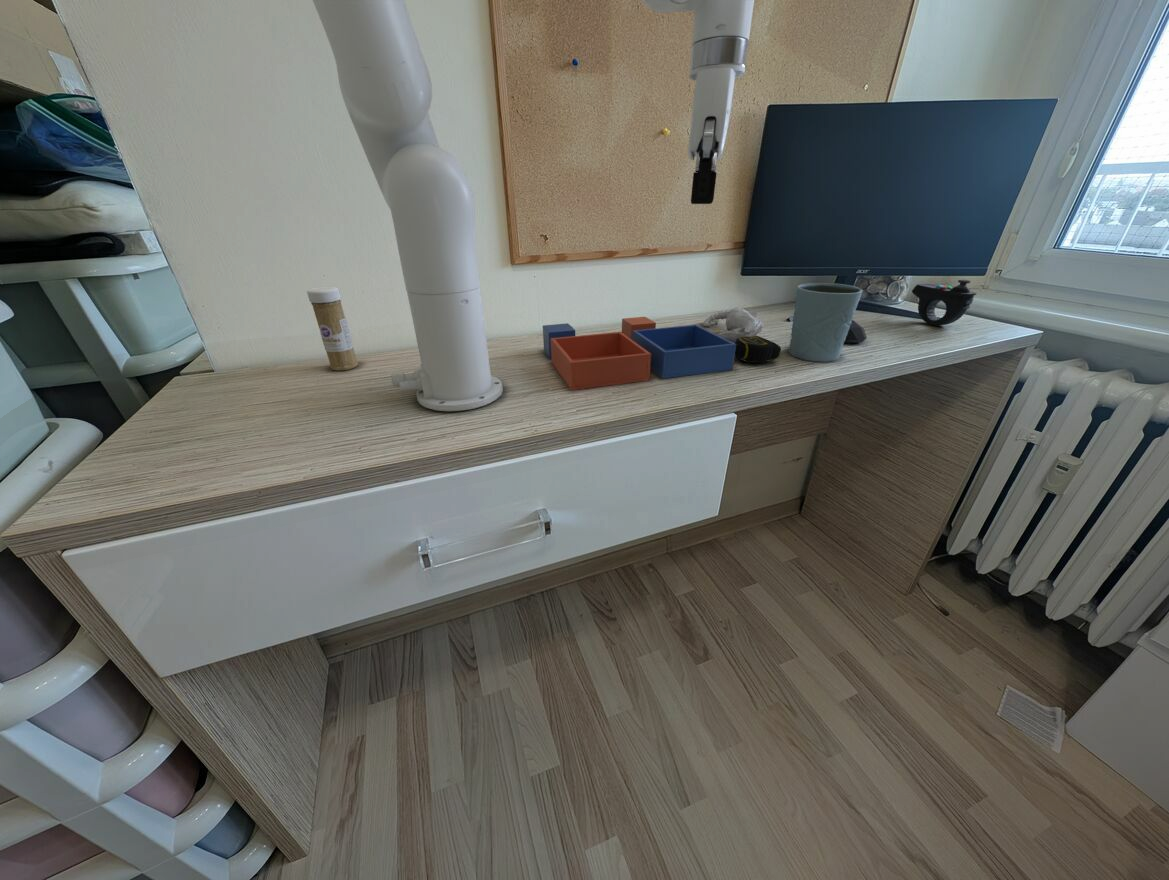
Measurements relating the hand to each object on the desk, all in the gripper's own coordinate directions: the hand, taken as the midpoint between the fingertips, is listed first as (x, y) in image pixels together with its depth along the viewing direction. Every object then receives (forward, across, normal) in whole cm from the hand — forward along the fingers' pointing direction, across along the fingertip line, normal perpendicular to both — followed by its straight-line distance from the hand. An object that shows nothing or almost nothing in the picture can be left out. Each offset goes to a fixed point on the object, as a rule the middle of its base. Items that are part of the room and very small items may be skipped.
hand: (702, 203), depth 69 cm
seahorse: (+25, -16, +8) cm, 31 cm away
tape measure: (+25, -1, +12) cm, 28 cm away
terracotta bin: (+25, +12, -14) cm, 31 cm away
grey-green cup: (+25, -6, +23) cm, 35 cm away
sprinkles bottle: (+25, +20, -58) cm, 67 cm away
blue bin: (+25, +4, -1) cm, 25 cm away
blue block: (+25, +5, -23) cm, 34 cm away
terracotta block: (+25, -4, -10) cm, 27 cm away
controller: (+26, -36, +53) cm, 69 cm away
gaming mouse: (+25, -21, +29) cm, 44 cm away
